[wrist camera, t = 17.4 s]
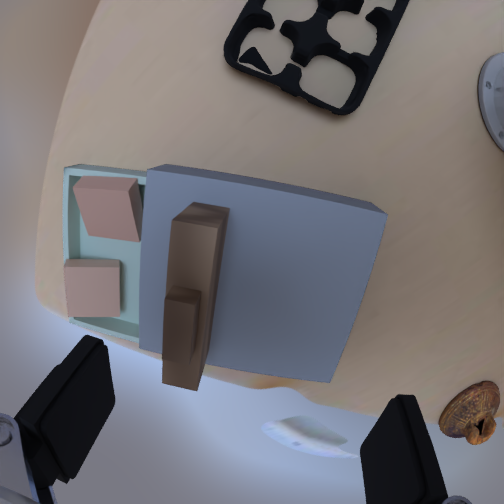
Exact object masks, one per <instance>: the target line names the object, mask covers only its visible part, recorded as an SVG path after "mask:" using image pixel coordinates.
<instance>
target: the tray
mask: <svg viewBox="0 0 504 504" xmlns="http://www.w3.org/2000/svg"><path fill="white" fill-rule="evenodd" d="M82 176H106V177H125V178H137V180H138V186H139V191H140V197H141V202H142V207H143V208H144V196H145V186H146V176H147V172H144V171H137V170H129V169H120V168H112V167H103V166H94V165H84V164H78V165H73V166H68V167H64V180H63V252H64V264H65V261H66V259H112V260H119V267H120V272H119V281H120V317H69V321H70V323H72V324H75V325H78V326H81V327H85V328H88V329H91V330H94V331H98V332H101V333H104V334H108V335H111V336H115V337H118V338H122V339H125V340H129V341H133V342H136V343H139V279H140V253H141V241H140V242H132V241H125V240H117V239H110V238H103V237H95V236H88V233H87V230H86V227H85V224H84V222H83V219H82V216H81V213H80V210H79V207H78V204H77V200H76V197H75V194H74V191H73V186H74V185H75V184H76V183H77V182H78V181H79V179H80V178H81V177H82Z"/></svg>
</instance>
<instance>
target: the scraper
mask: <svg viewBox="0 0 504 504" xmlns="http://www.w3.org/2000/svg"><path fill="white" fill-rule="evenodd" d="M229 211H230V208H227V207H222V206H216V205H210V204H204V203H199V202H192V203H191V204H190V205H189V206H188V207H186V208H185V209H184V210H183V211H182V212H180V213H179V214H178V215H177V216H176V217H175V218H173V219H172V221H171V231H170V242H169V253H168V265H167V278H166V293H165V299H164V316H163V341H162V359H163V368H162V383H164V384H168V385H172V386H176V387H181V388H185V389H189V390H194V391H197V390H198V386H199V383H200V379H201V376H202V372H203V369H204V365H205V362H206V358H207V355H208V352H209V346H210V339H211V332H212V324H213V317H214V310H215V303H216V296H217V289H218V282H219V276H220V269H221V262H222V256H223V249H224V243H225V236H226V230H227V224H228V217H229Z"/></svg>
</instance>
